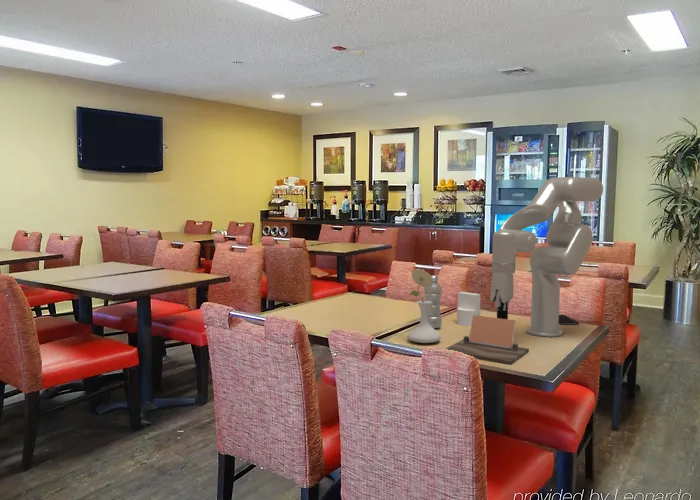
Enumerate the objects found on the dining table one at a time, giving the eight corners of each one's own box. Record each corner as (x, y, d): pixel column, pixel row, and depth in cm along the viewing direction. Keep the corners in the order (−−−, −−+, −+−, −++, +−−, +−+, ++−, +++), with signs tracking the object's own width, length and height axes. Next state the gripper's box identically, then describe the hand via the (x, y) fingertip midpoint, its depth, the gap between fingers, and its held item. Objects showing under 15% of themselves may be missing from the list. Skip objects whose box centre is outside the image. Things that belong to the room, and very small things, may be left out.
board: (464, 341, 190) (464, 332, 190) (528, 351, 177) (529, 341, 177) (442, 353, 176) (442, 343, 176) (511, 364, 164) (511, 354, 163)
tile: (474, 315, 186) (473, 315, 185) (515, 320, 178) (514, 320, 177) (470, 343, 184) (468, 342, 183) (511, 349, 176) (510, 349, 175)
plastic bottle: (440, 330, 206) (440, 277, 204) (422, 329, 208) (422, 276, 206) (443, 326, 212) (443, 275, 210) (425, 325, 214) (426, 274, 212)
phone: (559, 323, 215) (545, 314, 230) (559, 325, 215) (545, 317, 230) (580, 322, 215) (564, 314, 230) (580, 325, 215) (564, 317, 230)
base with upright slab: (452, 323, 218) (452, 293, 217) (466, 320, 224) (466, 290, 223) (470, 327, 211) (471, 296, 210) (484, 323, 217) (485, 293, 216)
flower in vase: (447, 343, 188) (448, 270, 186) (420, 347, 183) (421, 272, 180) (424, 334, 200) (424, 266, 197) (398, 339, 194) (398, 268, 192)
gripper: (500, 265, 194) (499, 316, 196) (484, 269, 182) (483, 324, 184) (521, 266, 190) (520, 319, 192) (506, 271, 178) (505, 327, 180)
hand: (502, 321), depth 188 cm, fingers closed
